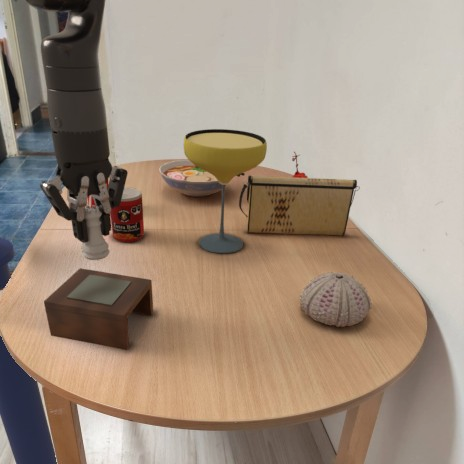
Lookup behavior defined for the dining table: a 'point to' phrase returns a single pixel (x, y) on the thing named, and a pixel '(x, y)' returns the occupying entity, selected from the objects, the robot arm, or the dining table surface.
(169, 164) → the ramen bowl
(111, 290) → the shelf
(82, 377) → the dining table surface
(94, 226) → the rook chess piece
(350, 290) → the sea urchin shell
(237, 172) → the cocktail glass
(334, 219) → the clutch purse
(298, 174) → the small figurine
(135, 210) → the canned food
